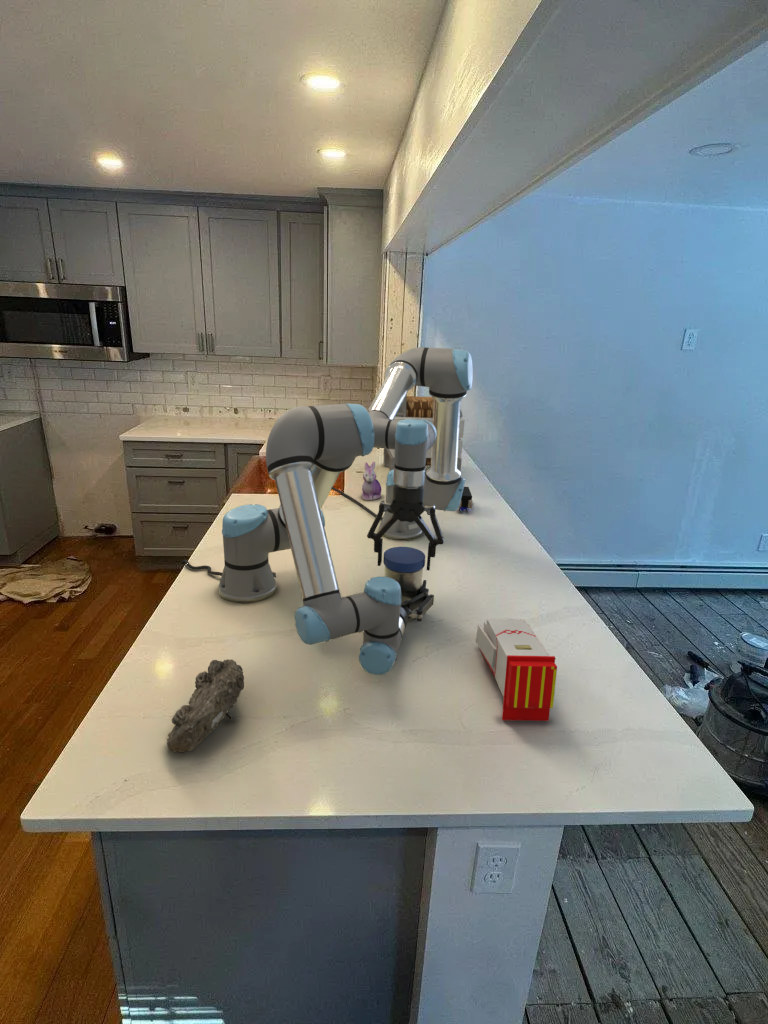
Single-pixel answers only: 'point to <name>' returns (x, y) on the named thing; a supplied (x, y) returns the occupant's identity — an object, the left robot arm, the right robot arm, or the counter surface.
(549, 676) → the toy
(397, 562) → the lid
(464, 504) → the figurine character
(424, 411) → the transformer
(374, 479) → the figurine
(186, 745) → the fossil
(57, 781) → the counter surface
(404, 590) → the jar
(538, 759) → the counter surface
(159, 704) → the counter surface
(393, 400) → the right robot arm
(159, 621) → the counter surface
